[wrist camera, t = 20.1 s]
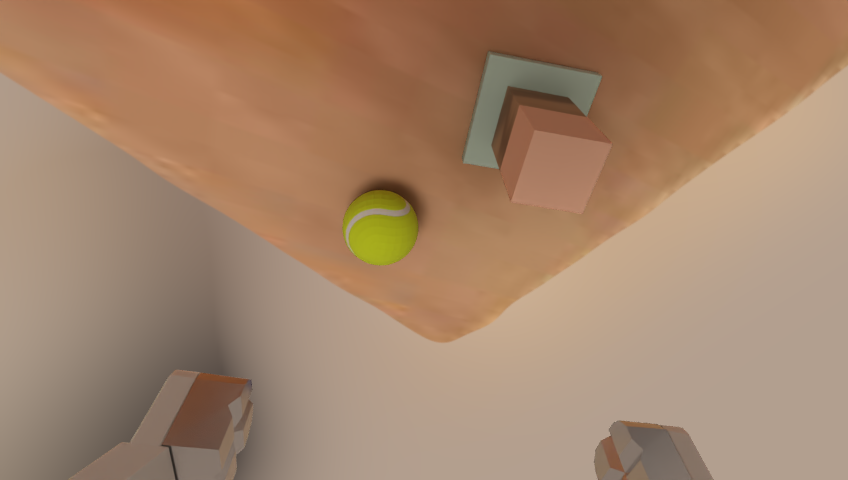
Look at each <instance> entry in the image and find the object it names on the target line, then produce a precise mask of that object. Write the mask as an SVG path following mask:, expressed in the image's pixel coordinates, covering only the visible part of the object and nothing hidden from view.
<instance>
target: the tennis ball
mask: <svg viewBox="0 0 848 480" xmlns="http://www.w3.org/2000/svg"><path fill="white" fill-rule="evenodd" d="M417 234H418V220H417V217H416V214H415V212H414V210H413V208H412V206H411V205H410V204H409V203H408V202H407V201H406V200H405V199H404V198H402V197H401V196H400V195H398V194H396V193H394V192H391V191H385V190H375V191H370V192H367V193H364V194H362V195H361V196H359V197H358V198H357V199H355V200H354V201H353V202H352V203H351V204H350V206H349V208H348V209H347V211H346V213H345V216H344V219H343V236H344V239H345V242H346V245H347V246H348V248H349V249H350V251H351V252H352V253H353V254H354V255H355V256H356V257H358V258H359V259H361V260H362V261H364V262H366V263H369V264H373V265H389V264H392V263H395V262H397V261H399V260H401V259H402V258H403V257H405V256H406V255H407V254H408V253H409V252H410V251H411V249H412V248H413V246H414V244H415V242H416V239H417Z"/></svg>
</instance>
